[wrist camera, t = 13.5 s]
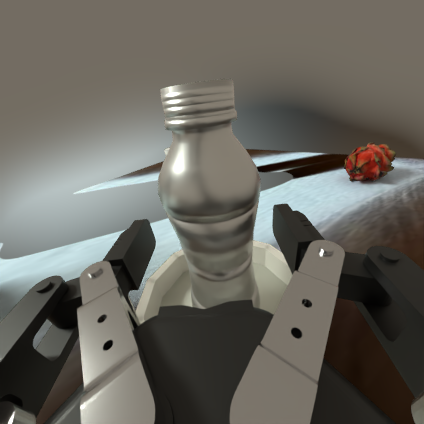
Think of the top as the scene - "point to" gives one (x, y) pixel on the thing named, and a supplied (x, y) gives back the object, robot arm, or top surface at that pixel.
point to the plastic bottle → (210, 192)
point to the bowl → (181, 284)
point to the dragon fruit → (369, 162)
